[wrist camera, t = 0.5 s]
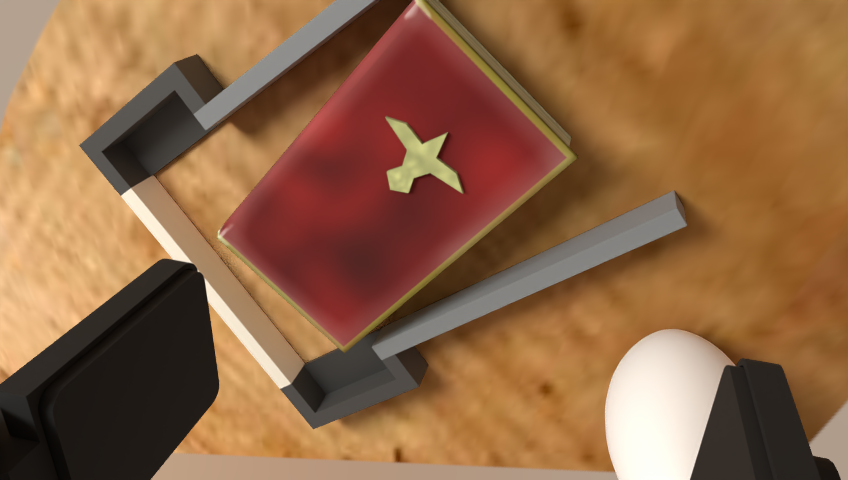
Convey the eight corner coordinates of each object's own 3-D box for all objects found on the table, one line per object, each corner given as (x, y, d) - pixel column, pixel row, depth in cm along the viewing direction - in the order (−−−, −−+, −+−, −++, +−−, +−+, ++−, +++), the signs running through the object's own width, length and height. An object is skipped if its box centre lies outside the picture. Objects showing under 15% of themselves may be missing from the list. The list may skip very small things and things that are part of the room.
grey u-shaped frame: (463, -176, 33) (451, -181, 31) (707, 248, 39) (712, 268, 37) (104, 134, 47) (79, 145, 45) (326, 407, 53) (313, 429, 51)
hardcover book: (241, 209, 47) (209, 235, 44) (434, -18, 37) (413, -8, 33) (363, 321, 49) (342, 355, 45) (581, 135, 39) (576, 160, 35)
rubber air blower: (661, 277, 41) (682, 509, 25) (767, 345, 41) (853, 618, 25) (585, 356, 45) (563, 599, 29) (682, 418, 45) (711, 692, 29)
